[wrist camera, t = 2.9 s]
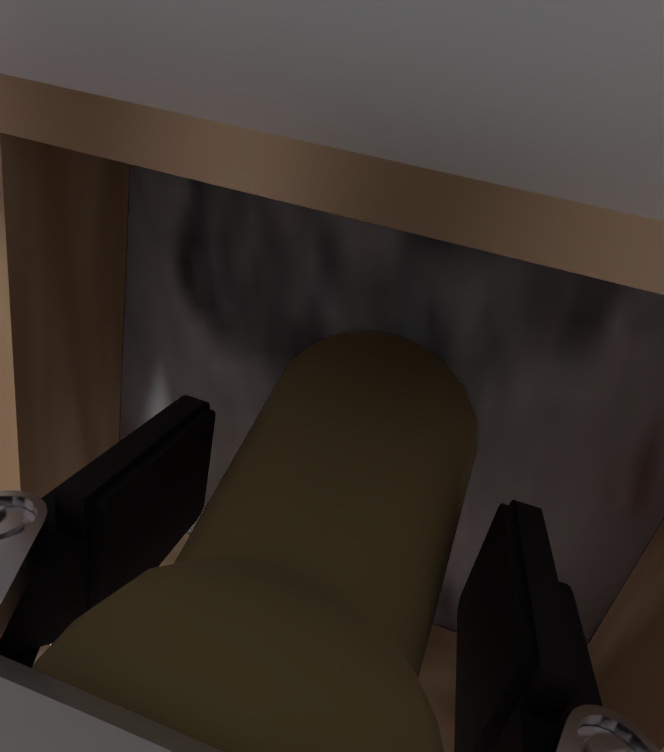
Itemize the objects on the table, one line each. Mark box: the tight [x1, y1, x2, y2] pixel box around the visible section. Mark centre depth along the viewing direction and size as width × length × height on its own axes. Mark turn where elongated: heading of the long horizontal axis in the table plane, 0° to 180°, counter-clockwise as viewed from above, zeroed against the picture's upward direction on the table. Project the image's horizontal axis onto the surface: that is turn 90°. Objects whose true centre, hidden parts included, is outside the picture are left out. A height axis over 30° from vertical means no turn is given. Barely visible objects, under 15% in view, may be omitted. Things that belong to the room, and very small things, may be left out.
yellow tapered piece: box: [32, 331, 476, 752], centre depth 9 cm, size 6×6×11 cm
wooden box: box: [0, 73, 664, 752], centre depth 12 cm, size 18×14×4 cm
